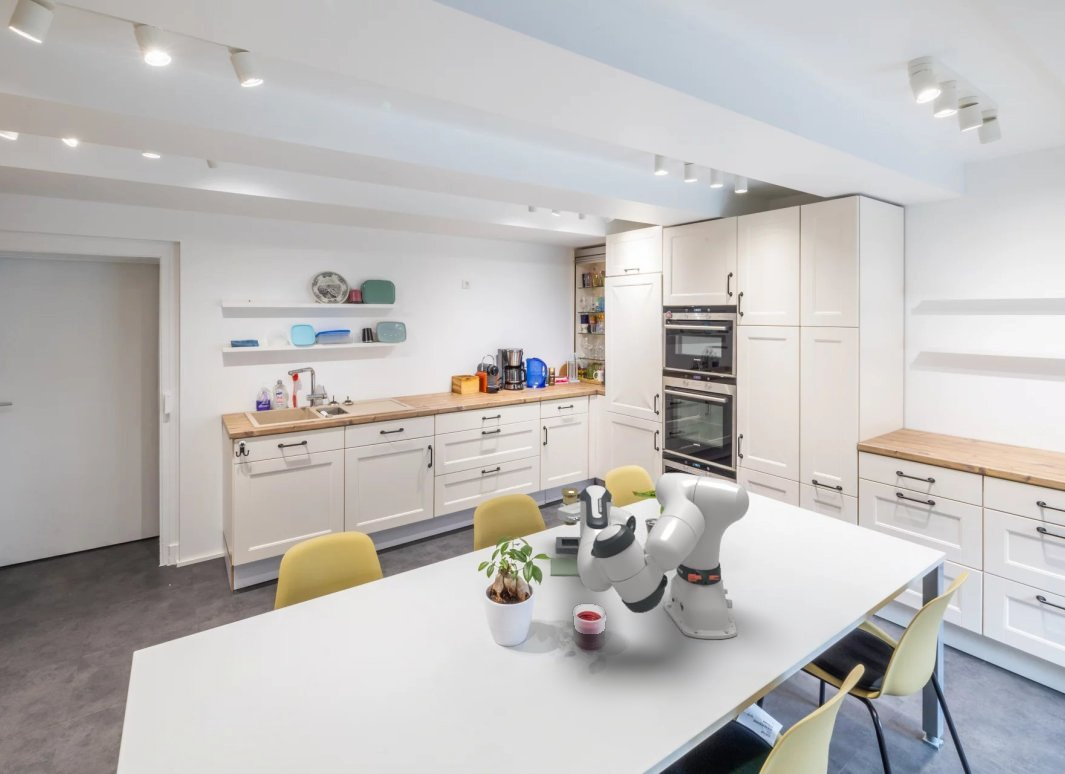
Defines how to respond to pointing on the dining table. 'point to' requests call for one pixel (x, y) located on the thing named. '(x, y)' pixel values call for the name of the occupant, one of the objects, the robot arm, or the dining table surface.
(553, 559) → the mat
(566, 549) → the housing
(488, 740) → the dining table surface
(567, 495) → the olive metal cylinder
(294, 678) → the dining table surface
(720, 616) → the robot arm
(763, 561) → the dining table surface
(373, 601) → the dining table surface
